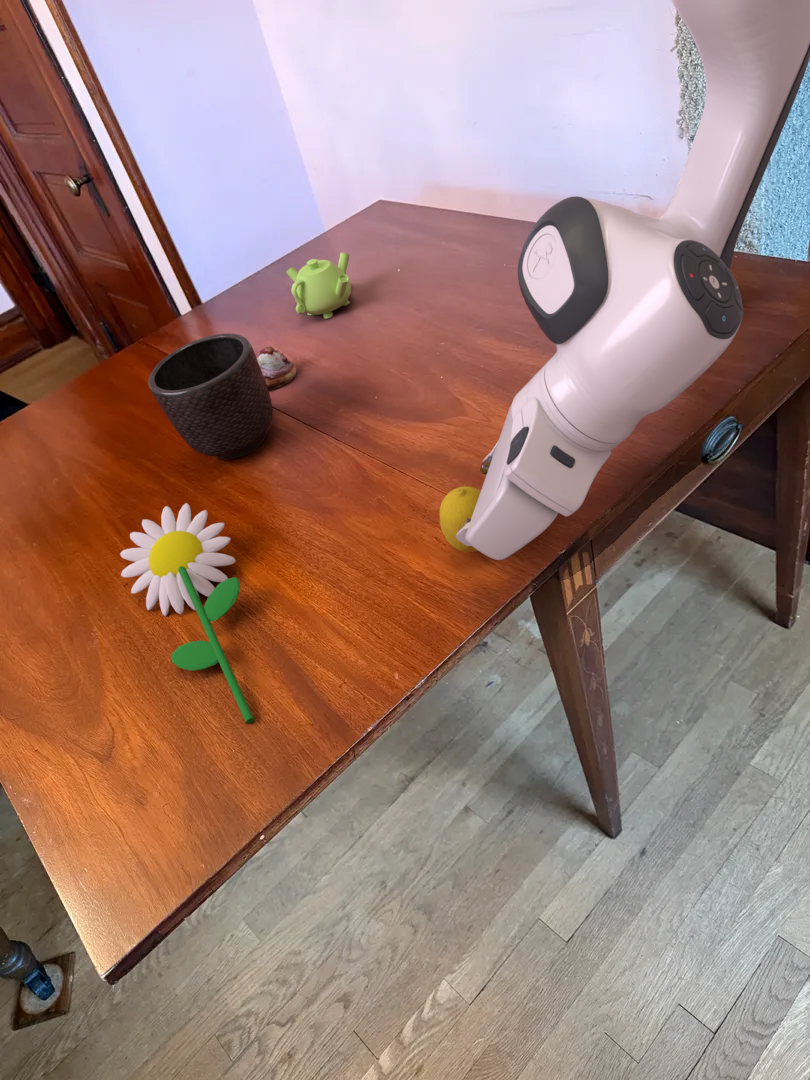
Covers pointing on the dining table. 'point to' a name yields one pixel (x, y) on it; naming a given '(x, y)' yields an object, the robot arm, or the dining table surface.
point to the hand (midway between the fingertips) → (475, 502)
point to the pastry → (275, 368)
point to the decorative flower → (187, 583)
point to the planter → (215, 395)
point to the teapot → (321, 286)
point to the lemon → (457, 514)
